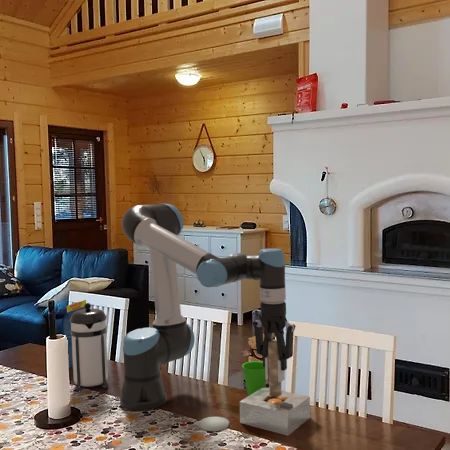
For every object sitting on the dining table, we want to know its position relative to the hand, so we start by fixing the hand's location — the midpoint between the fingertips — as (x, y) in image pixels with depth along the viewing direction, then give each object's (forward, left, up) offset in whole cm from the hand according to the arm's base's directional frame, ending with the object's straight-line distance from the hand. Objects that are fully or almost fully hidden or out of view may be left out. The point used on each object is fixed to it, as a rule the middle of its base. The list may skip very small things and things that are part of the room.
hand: (275, 379), depth 164 cm
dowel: (0, 0, -5) cm, 5 cm away
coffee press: (-72, -8, -13) cm, 74 cm away
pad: (-14, -12, -13) cm, 22 cm away
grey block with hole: (0, 0, -13) cm, 13 cm away
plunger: (0, 0, -9) cm, 9 cm away
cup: (-14, +12, -13) cm, 23 cm away
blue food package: (-94, +6, -13) cm, 95 cm away
